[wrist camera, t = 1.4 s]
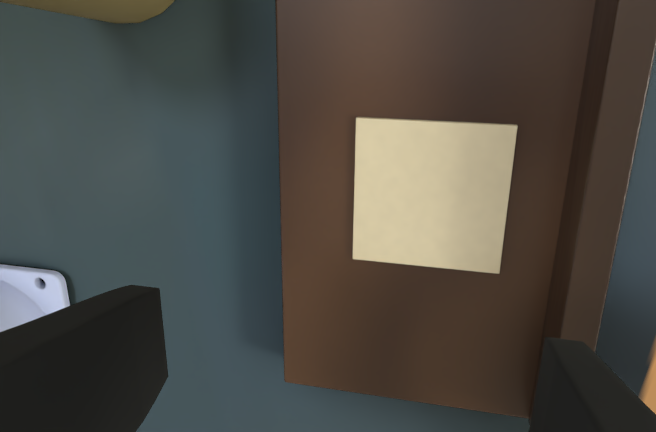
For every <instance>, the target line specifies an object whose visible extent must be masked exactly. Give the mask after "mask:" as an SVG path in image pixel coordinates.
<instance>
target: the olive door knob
mask: <svg viewBox="0 0 656 432" xmlns="http://www.w3.org/2000/svg"><path fill="white" fill-rule="evenodd" d="M174 1H175V0H0V2H4V3H9V4H14V5H20V6H25V7H30V8H36V9H41V10H47V11H52V12H57V13H63V14H68V15H73V16H79V17H84V18H90V19H95V20H100V21H106V22H111V23H140V22H142V21H145V20H147V19H149V18H152V17H154V16H156V15H159V14H161V13H163V12H164V11H165V10H166V9H167V8H168V7H169V6H170V5H171V4H172V3H173V2H174Z"/></svg>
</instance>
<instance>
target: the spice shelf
mask: <svg viewBox="0 0 656 432" xmlns="http://www.w3.org/2000/svg"><path fill="white" fill-rule="evenodd" d="M275 2H276V44H277V87H278V129H279V171H280V213H281V255H282V297H283V340H284V380H285V382H289V383H295V384H302V385H309V386H315V387H322V388H329V389H335V390H342V391H349V392H355V393H362V394H369V395H376V396H382V397H389V398H396V399H402V400H409V401H416V402H422V403H429V404H436V405H442V406H449V407H456V408H462V409H469V410H476V411H482V412H489V413H496V414H503V415H509V416H516V417H523V418H529V424H530V423H531V417H532V411H533V405H534V399H535V394H536V388H537V382H538V376H539V370H540V364H541V358H542V352H543V347H544V341H545V337H551V338H559V339H567V340H575V341H583V342H584V343H585V344H586V345H587V346H589V347H590V348H591V349H592V350H593V351H594V352H595V350H596V345H597V340H598V335H599V330H600V325H601V320H602V315H603V310H604V305H605V300H606V295H607V290H608V285H609V280H610V275H611V270H612V265H613V260H614V255H615V250H616V245H617V240H618V235H619V230H620V225H621V220H622V215H623V210H624V205H625V200H626V195H627V190H628V185H629V180H630V175H631V170H632V165H633V160H634V155H635V150H636V145H637V140H638V135H639V130H640V125H641V120H642V115H643V110H644V105H645V100H646V95H647V90H648V85H649V80H650V75H651V70H652V65H653V60H654V55H655V50H656V0H275Z"/></svg>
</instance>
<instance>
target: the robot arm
mask: <svg viewBox="0 0 656 432" xmlns="http://www.w3.org/2000/svg"><path fill="white" fill-rule="evenodd" d="M41 279H43V280H44V282H45V284H44V283H43V282H42V280H41ZM167 377H168V370H167V360H166V350H165V340H164V330H163V320H162V310H161V300H160V290H159V288H152V287H144V286H136V285H129V286H125V287H121V288H118V289H114V290H111V291H108V292H105V293H103V294H100V295H97V296H94V297H92V298H89V299H86V300H84V301H81V302H79V303H76V304H73V305H71V306H70V302H69V297H68V291H67V285H66V281H65V278H64V277H63V275H62V274H60V273H59V272H57V271H54V270H45V269H37V268H29V267H20V266H12V265H3V264H0V432H136V430H137V429H138V428H139V426H140V425H141V423H142V422H143V421H144V419H145V417H146V416H147V414H148V412H149V411H150V409H151V407H152V405H153V404H154V402H155V400H156V398H157V396H158V394H159V393H160V391H161V389H162V387H163V385H164V383H165V381H166V379H167ZM529 432H656V414H655V413H654V412H652V411H651V410H650V409H649V408H648V407H647V406H646V405H645V404H644V403H643V402H642V401H641V400H640V399H639V398H638V397H637V396H636V395H635V394H634V393H633V392H632V391H631V390H630V389H629V388H628V387H627V386H626V385H625V384H624V382H623V381H622V380H621V379H620V378H619V377H618V376H617V375H616V374H615V373H614V372H613V371H612V370H611V369H610V368H609V367H608V366H607V365H606V364H605V363H604V362H603V361H602V360H601V359H600V358H599V357H598V356H597V355H596V354H595V352H594V351H593V350H592V349H591V348H590V347H589V346H587V345H586V344H585V343H584V342H583V341H575V340H567V339H559V338H551V337H545V341H544V347H543V352H542V358H541V364H540V370H539V376H538V382H537V388H536V394H535V399H534V405H533V411H532V417H531V423H530V429H529Z"/></svg>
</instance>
